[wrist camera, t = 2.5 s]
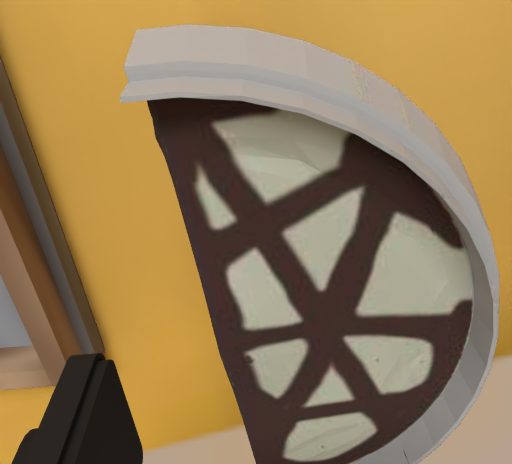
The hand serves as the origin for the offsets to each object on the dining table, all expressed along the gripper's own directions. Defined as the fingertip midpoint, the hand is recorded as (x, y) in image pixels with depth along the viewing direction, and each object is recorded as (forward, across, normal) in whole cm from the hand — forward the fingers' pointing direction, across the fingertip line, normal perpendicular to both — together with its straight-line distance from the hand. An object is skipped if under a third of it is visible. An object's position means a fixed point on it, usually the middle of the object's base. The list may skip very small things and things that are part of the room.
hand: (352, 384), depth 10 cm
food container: (+10, 0, -1) cm, 10 cm away
